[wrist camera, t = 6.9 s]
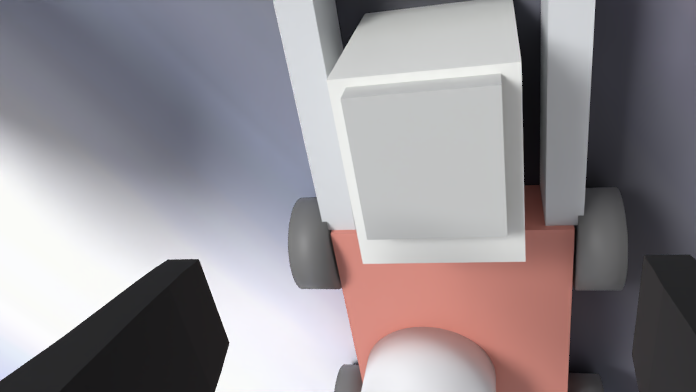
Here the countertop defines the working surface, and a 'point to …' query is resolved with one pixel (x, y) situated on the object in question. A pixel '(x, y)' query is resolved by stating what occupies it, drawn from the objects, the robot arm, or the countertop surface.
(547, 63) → the toy car
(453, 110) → the white drawer box
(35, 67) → the countertop surface
